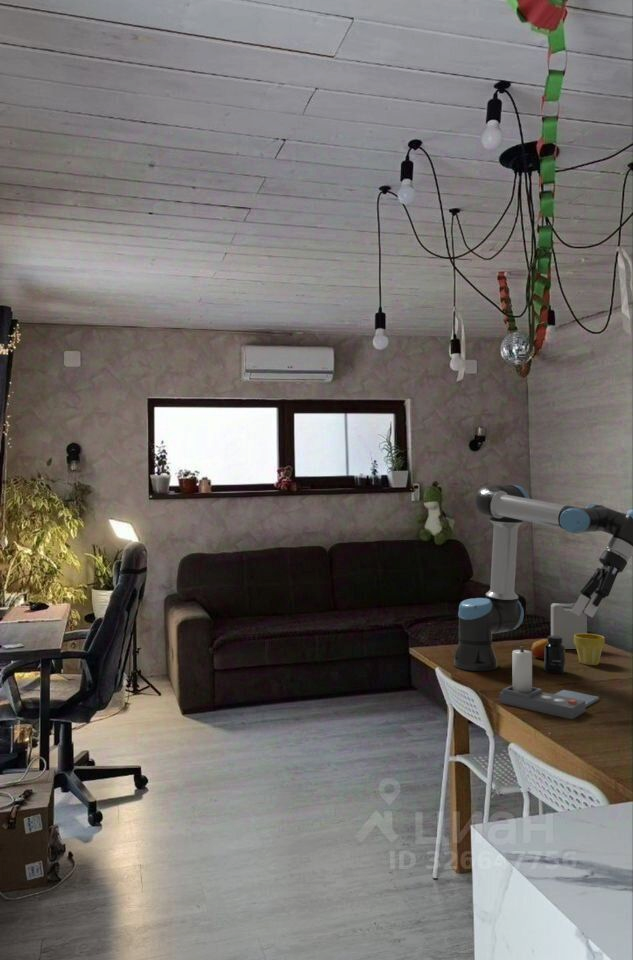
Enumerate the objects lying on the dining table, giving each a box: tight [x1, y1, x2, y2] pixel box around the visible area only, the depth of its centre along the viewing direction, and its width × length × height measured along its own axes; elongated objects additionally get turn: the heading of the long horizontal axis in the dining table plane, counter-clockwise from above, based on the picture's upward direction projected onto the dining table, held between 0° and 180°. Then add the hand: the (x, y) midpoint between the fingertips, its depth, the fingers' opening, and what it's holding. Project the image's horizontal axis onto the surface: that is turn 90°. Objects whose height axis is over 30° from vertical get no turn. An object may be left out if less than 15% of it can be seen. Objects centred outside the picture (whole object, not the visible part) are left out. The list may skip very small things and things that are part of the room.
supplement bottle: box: [543, 635, 566, 675], centre depth 243 cm, size 7×7×12 cm
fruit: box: [531, 638, 548, 660], centre depth 262 cm, size 8×8×8 cm
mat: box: [553, 689, 600, 708], centre depth 211 cm, size 11×11×1 cm
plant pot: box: [574, 633, 606, 666], centre depth 255 cm, size 10×10×10 cm
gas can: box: [550, 602, 588, 651], centre depth 277 cm, size 15×5×25 cm, turn 83°
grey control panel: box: [498, 684, 586, 720], centre depth 204 cm, size 22×9×4 cm, turn 47°
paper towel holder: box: [511, 645, 533, 694], centre depth 208 cm, size 6×6×14 cm
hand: (581, 614), depth 213 cm, fingers open, 13 cm apart
